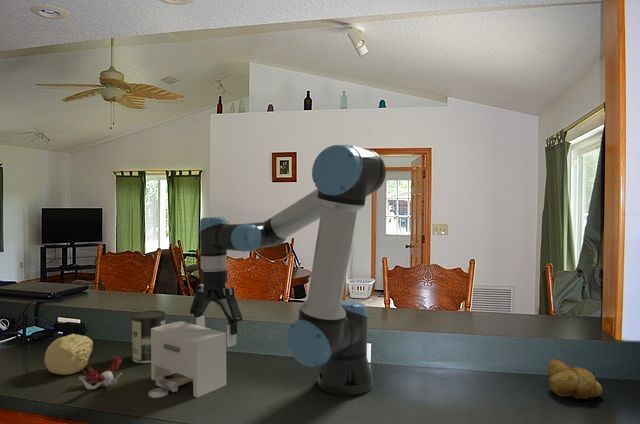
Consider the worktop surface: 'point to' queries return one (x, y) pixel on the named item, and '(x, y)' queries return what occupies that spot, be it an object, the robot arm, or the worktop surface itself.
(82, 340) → the sculpture
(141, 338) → the coffee can
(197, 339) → the cabinet
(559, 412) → the worktop surface
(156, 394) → the steel token
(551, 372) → the bread roll
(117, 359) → the figurine
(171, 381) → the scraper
